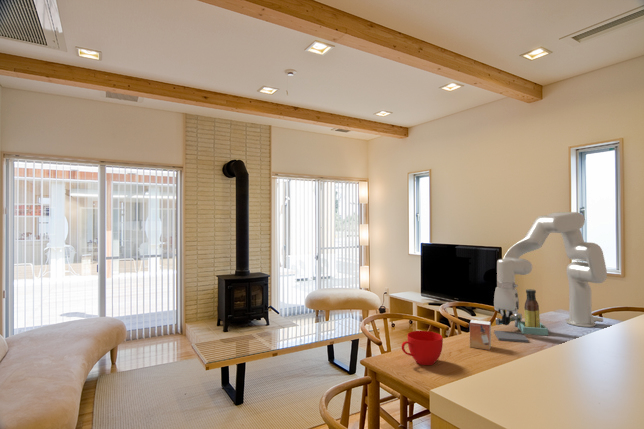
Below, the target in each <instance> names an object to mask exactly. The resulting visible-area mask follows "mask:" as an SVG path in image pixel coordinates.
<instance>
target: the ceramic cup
mask: <svg viewBox="0 0 644 429" xmlns="http://www.w3.org/2000/svg"><path fill="white" fill-rule="evenodd" d="M406 336H407V337H406V338H407V341H406V340H405V341H403V342H402V344H401V350H402V352H403V353H404V354H405V355H408V356H410V357H412V359H414V360H415V362H416V363H417V364H419V365H420V366H421V365H422V366H432V365H434V364H435V363H436V362H437V361H438V360H439V359H440V357H441V355H442V350H443V346H444V344H443V341H444V340H443V339H444V338H443V335H441V334H440V333H437V332H434V331H429V330H414V331H410V332H408V333H407V335H406ZM406 345H408V346H407V347H408V350H409V352H408V351H406V349H405V346H406Z"/></svg>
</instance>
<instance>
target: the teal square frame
mask: <svg viewBox="0 0 644 429" xmlns="http://www.w3.org/2000/svg"><path fill="white" fill-rule="evenodd" d="M514 327H515V328H517V329H518V330H520V331H519V332H522V333H523V334H524V335H537V336H549V329H548V327H546V326H545V324H543V323H542V322H541V321H540V328H533V327H525V320H524V321H523V320H522V319H521V320H515V321H514Z"/></svg>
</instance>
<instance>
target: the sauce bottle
mask: <svg viewBox="0 0 644 429" xmlns="http://www.w3.org/2000/svg"><path fill="white" fill-rule="evenodd" d="M525 293H526V299H525V303H524V322H525V327H533V328H540V322H541V320H540V309H539V308H540V307H539V302H538V301H537V299H536V293H537V292H536V289H534V288H533V289H529V288H527V289H526V290H525Z"/></svg>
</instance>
